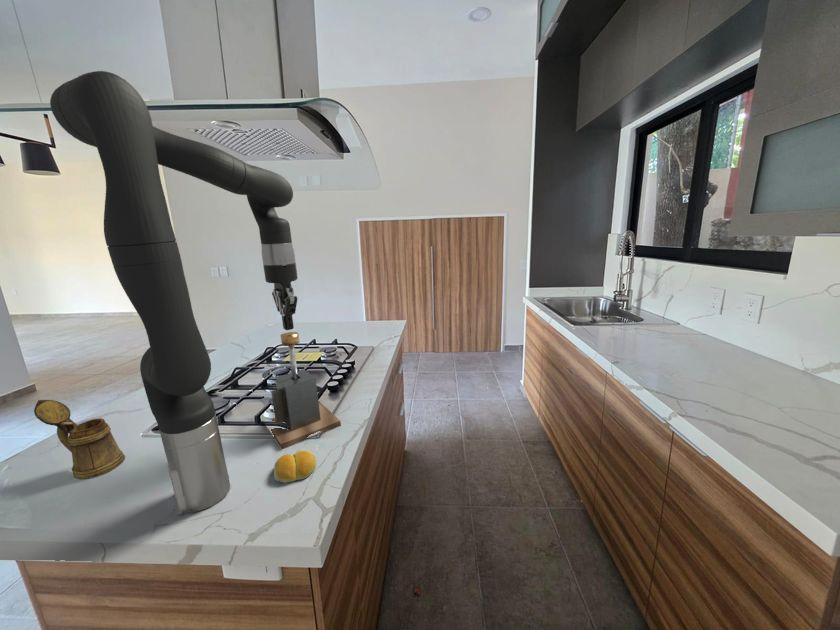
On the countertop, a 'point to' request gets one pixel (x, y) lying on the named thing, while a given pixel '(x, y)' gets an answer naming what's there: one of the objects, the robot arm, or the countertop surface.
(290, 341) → the plunger
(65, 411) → the wooden mug
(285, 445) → the serving board
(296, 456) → the bread roll
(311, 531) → the countertop surface
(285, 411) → the block
